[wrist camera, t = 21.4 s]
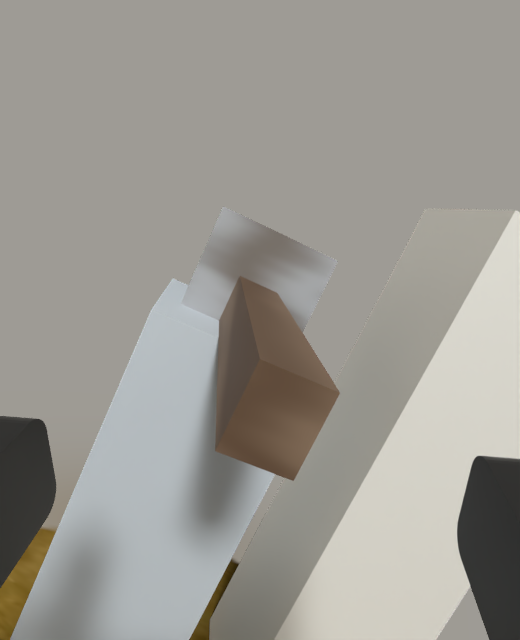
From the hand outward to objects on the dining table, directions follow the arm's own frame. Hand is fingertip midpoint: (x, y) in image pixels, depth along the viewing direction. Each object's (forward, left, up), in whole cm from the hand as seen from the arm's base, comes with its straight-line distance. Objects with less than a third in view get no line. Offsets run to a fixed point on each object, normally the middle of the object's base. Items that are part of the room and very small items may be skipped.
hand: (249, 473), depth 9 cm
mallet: (-1, -11, -1) cm, 11 cm away
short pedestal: (-1, -15, -23) cm, 28 cm away
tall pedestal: (-13, -16, -23) cm, 30 cm away
